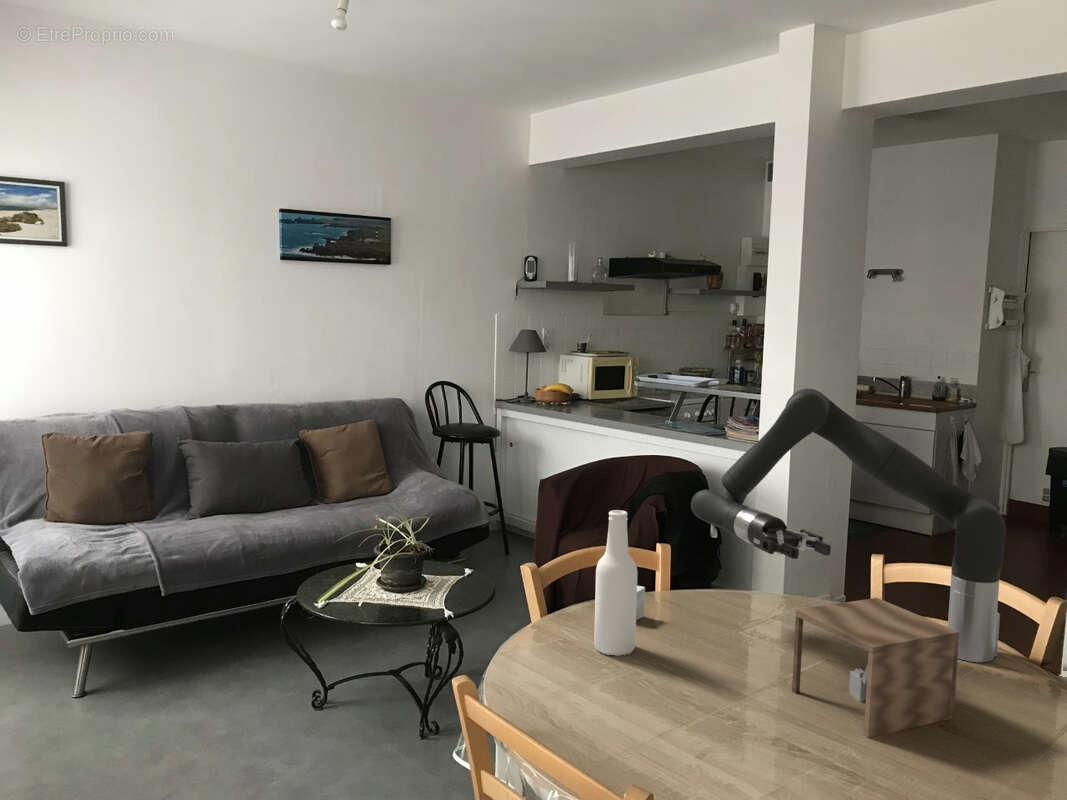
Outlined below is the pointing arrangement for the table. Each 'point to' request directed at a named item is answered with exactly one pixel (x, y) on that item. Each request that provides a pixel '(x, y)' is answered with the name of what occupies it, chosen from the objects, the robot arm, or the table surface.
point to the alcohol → (616, 592)
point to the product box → (640, 602)
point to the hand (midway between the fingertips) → (813, 552)
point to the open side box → (892, 661)
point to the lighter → (858, 684)
